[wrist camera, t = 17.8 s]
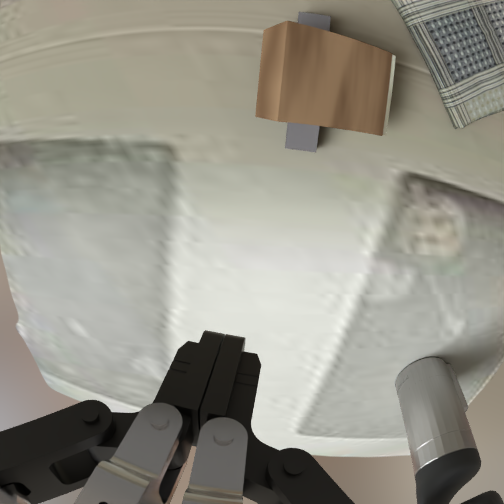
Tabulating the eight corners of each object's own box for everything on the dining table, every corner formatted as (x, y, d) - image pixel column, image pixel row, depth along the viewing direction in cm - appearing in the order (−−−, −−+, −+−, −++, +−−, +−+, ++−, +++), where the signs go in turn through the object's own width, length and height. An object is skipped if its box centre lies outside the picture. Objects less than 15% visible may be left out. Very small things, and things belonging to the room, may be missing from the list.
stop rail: (328, 21, 25) (330, 16, 23) (314, 149, 31) (316, 152, 29) (298, 16, 25) (298, 11, 23) (285, 145, 31) (285, 148, 29)
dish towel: (450, 132, 28) (463, 136, 25) (378, -12, 22) (386, -22, 19) (546, 94, 22) (560, 96, 20) (490, -32, 16) (502, -38, 13)
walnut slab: (263, 30, 22) (365, 55, 26) (255, 116, 26) (356, 128, 29) (287, 20, 18) (396, 55, 22) (277, 121, 22) (386, 136, 26)
